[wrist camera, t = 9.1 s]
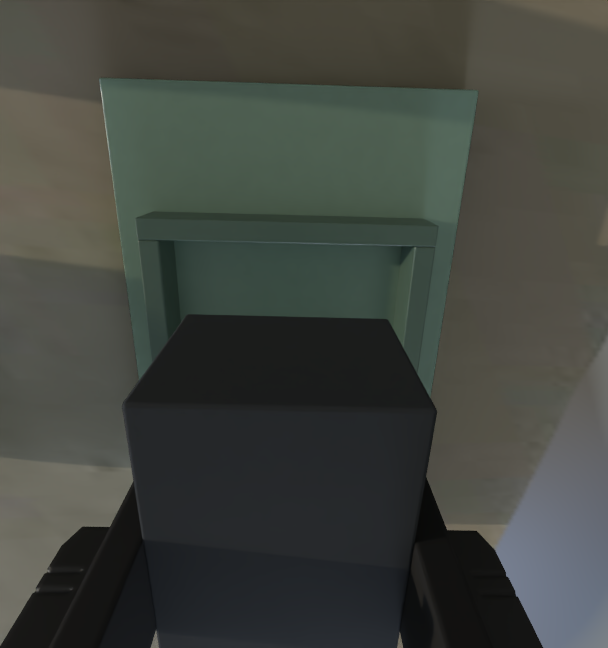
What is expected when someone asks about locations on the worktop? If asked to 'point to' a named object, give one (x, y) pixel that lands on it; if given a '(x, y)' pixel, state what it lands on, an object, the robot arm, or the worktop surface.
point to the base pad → (287, 203)
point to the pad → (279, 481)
